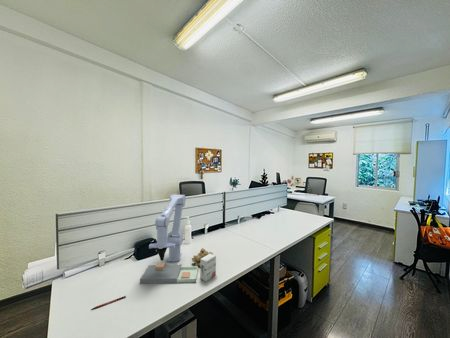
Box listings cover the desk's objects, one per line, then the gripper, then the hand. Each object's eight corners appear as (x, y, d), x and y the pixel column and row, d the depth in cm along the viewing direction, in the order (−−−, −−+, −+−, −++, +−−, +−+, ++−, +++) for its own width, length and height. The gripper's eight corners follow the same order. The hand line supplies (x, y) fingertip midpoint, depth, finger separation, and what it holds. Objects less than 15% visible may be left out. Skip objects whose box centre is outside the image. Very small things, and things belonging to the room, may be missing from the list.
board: (148, 269, 109) (148, 265, 109) (181, 268, 111) (181, 264, 110) (139, 283, 97) (139, 279, 96) (176, 282, 98) (176, 278, 98)
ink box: (210, 271, 108) (210, 252, 108) (216, 274, 105) (216, 255, 105) (199, 278, 102) (199, 258, 101) (205, 282, 99) (205, 261, 98)
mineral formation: (202, 255, 127) (220, 260, 119) (190, 267, 115) (208, 274, 107) (201, 245, 125) (218, 249, 118) (188, 256, 114) (206, 262, 106)
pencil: (90, 310, 79) (90, 308, 79) (125, 297, 87) (125, 295, 87) (90, 311, 78) (90, 309, 78) (125, 298, 86) (125, 296, 86)
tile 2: (182, 275, 103) (182, 272, 103) (190, 275, 104) (190, 271, 103) (180, 280, 99) (181, 277, 99) (189, 280, 99) (189, 276, 99)
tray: (181, 269, 110) (181, 266, 110) (198, 269, 110) (198, 266, 110) (176, 282, 98) (176, 279, 98) (195, 282, 98) (195, 278, 98)
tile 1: (157, 265, 109) (157, 262, 109) (165, 265, 109) (165, 262, 109) (155, 270, 104) (155, 267, 104) (163, 270, 105) (163, 266, 105)
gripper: (147, 240, 98) (147, 263, 99) (173, 239, 100) (173, 263, 100) (151, 234, 106) (151, 257, 106) (176, 234, 107) (175, 256, 107)
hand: (162, 259), depth 104 cm, fingers closed
